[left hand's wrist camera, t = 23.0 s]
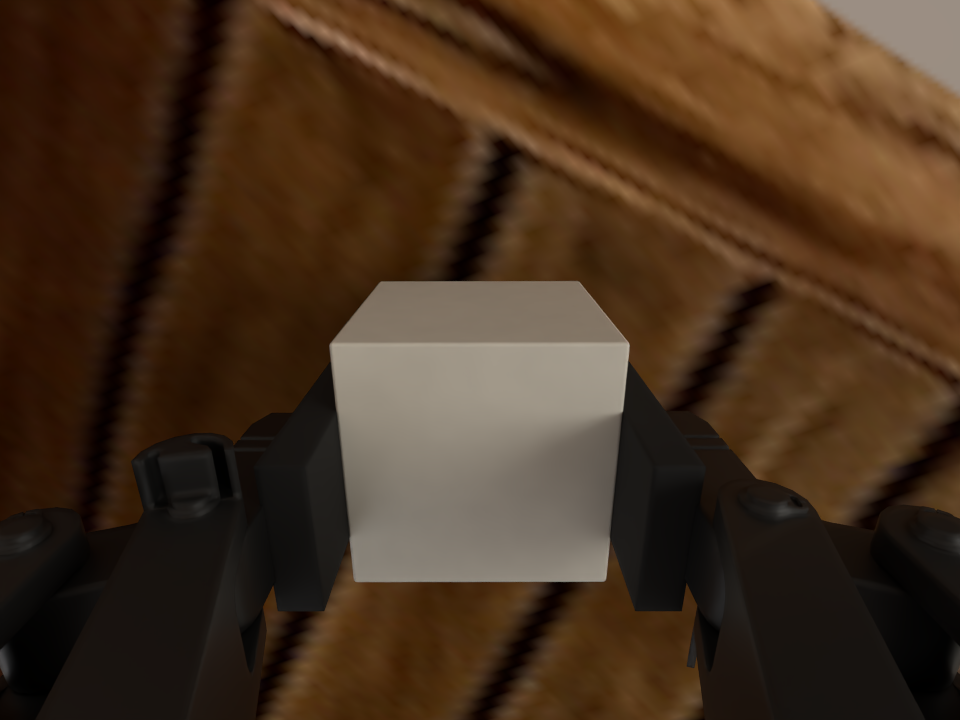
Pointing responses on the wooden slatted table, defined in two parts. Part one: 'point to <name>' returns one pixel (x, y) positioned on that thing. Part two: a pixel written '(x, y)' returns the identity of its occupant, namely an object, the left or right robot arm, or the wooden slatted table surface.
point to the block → (479, 431)
